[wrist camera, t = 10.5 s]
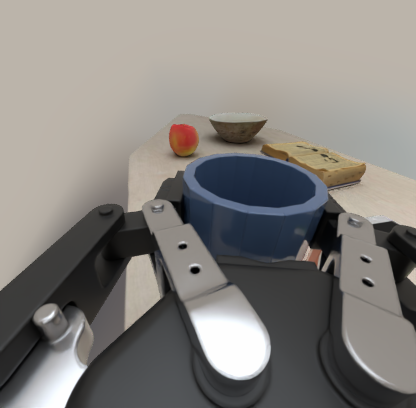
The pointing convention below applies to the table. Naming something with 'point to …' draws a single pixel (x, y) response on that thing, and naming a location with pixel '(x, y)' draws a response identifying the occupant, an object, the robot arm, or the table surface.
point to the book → (318, 162)
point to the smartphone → (382, 223)
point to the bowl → (237, 126)
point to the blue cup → (253, 206)
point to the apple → (183, 139)
